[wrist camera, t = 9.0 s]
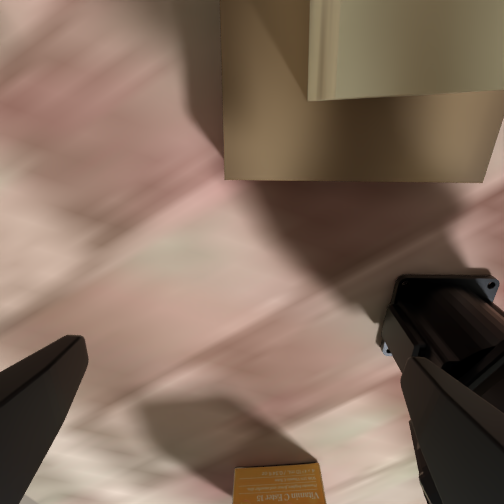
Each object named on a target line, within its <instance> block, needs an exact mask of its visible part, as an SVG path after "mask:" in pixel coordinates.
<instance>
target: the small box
mask: <svg viewBox="0 0 504 504" xmlns="http://www.w3.org/2000/svg"><path fill="white" fill-rule="evenodd" d="M232 504H326V498H325V492H324V487H323V481H322V475H321V470H320V465H319V463H312V464H301V465H286V466H271V467H253V468H243V467H239V468H235V471H234V484H233V499H232Z"/></svg>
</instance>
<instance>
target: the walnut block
mask: <svg viewBox="0 0 504 504" xmlns="http://www.w3.org/2000/svg"><path fill="white" fill-rule="evenodd" d="M309 21H310V0H220V25H221V62H222V99H223V137H224V174H225V180H277V181H364V182H450V183H483V180H484V177H485V174H486V171H487V167H488V164H489V161H490V158H491V155H492V152H493V149H494V146H495V143H496V139H497V136H498V133H499V130H500V127H501V124H502V121H503V118H504V90H494V91H479V92H464V93H449V94H435V95H418V96H398V97H379V98H360V99H341V100H322V101H308V61H309Z"/></svg>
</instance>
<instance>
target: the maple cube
mask: <svg viewBox="0 0 504 504" xmlns="http://www.w3.org/2000/svg"><path fill="white" fill-rule="evenodd" d="M494 90H504V0H310V21H309V61H308V101H322V100H341V99H360V98H379V97H398V96H418V95H435V94H449V93H464V92H479V91H494Z"/></svg>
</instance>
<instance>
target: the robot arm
mask: <svg viewBox="0 0 504 504" xmlns="http://www.w3.org/2000/svg"><path fill="white" fill-rule="evenodd" d="M405 281H407V283H406V284H405V285H402V284H403V283H404V282H405ZM490 282H491V283H490ZM489 283H490V284H489ZM488 284H489V285H488ZM498 287H499V281H498V280H497V279H496V278H494V277H493V276H470V275H402V276H400V277H398V278H397V280H396V282H395V287H394V291H393V295H392V300H391V304H390V305H389V306H388V307H387V311H386V316H385V320H384V325H383V329H382V333H381V336H382V338H383V339H382V343H381V350H382V352H383V354H384V355H386V356H393V358H394V359H395V361H396V363H397V365H398V367H399V368H400V370H401V372H402V376H401V388H402V391H403V395H404V398H405V401H406V405H407V408H408V411H409V415H410V418H411V420H410V421H409V425H410V430H411V435H412V440H413V445H414V450H415V455H416V460H417V465H418V470H419V480H420V485H421V487H422V489H423V492H424V496H425V498H426V500H427V504H504V311H502V310H501V309H500V308H499V307H498V306H496V305H495V304H494V303H493V300H494V297H495V295H496V292H497V290H498ZM87 366H88V353H87V348H86V343H85V339H84V337H83V336H81V335H66V336H64V337H62V338H60V339H58V340H57V341H55V342H53V343H51V344H49V345H48V346H46V347H44V348H42V349H41V350H39V351H37V352H35V353H33V354H32V355H30V356H28V357H26V358H24V359H23V360H21V361H19V362H17V363H16V364H14V365H12V366H10V367H8V368H7V369H5V370H3V371H1V372H0V504H19V503H20V501H21V499H22V498H23V496H24V494H25V492H26V490H27V488H28V487H29V485H30V483H31V481H32V479H33V477H34V476H35V474H36V472H37V470H38V468H39V466H40V465H41V463H42V461H43V459H44V457H45V455H46V454H47V452H48V450H49V448H50V446H51V445H52V443H53V441H54V439H55V437H56V435H57V434H58V432H59V430H60V428H61V426H62V424H63V422H64V420H65V418H66V416H67V413H68V411H69V409H70V406H71V404H72V402H73V399H74V397H75V395H76V392H77V390H78V388H79V385H80V383H81V380H82V378H83V376H84V373H85V371H86V369H87Z"/></svg>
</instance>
